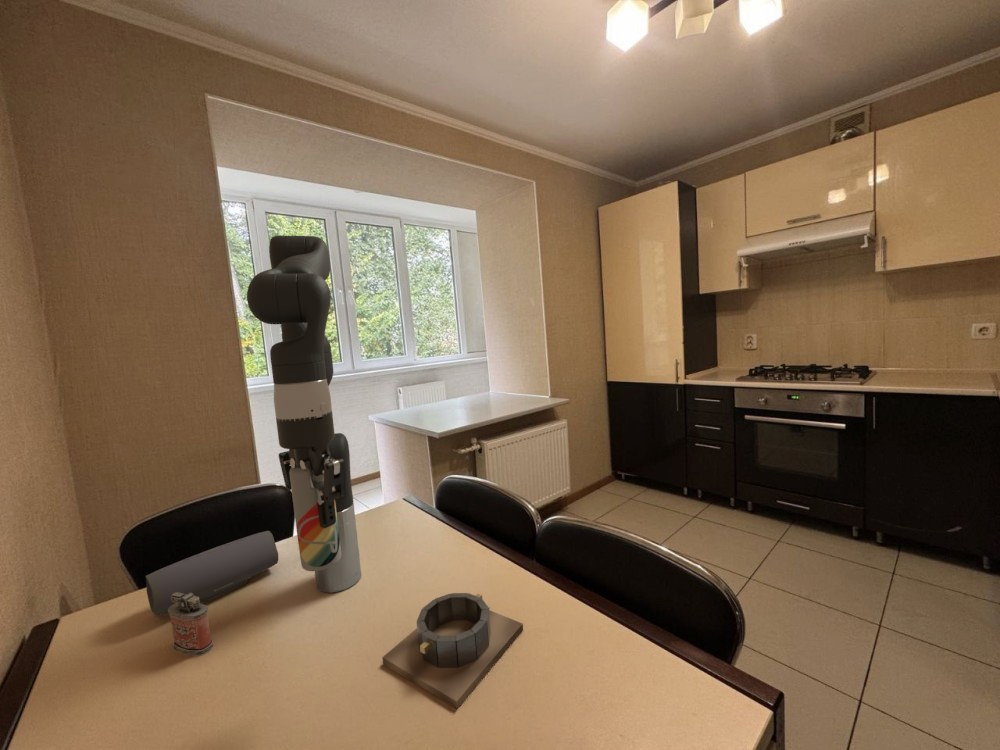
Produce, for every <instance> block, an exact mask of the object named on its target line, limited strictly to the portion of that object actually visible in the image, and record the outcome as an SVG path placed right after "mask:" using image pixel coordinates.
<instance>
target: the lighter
mask: <svg viewBox="0 0 1000 750" xmlns="http://www.w3.org/2000/svg"><path fill="white" fill-rule="evenodd" d="M171 600H172V602H175V604H173V605H172V606H170V607H169V608H168V615H169V616H170V623H171V630H172V634H173V635H172V636H173V643H172V644H173V649H174V650H175V651H177V652H178V653H181V654H184V655H188V656H202V655H205V654H207V653H209V652H210V651H211V650H212V649H213V648H214V643H213V642H214V641H213V640H212V635H211V629H210V623H209V617H208V616H209V615H208V613H209V607H208V606H207V605H206V604H204V603H200V601H199V597H196V596H194V594H193V593H189V594H187V595H186V594H183V593H178V592H176V593H174V594H172V596H171Z"/></svg>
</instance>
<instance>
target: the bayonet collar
mask: <svg viewBox="0 0 1000 750" xmlns="http://www.w3.org/2000/svg"><path fill="white" fill-rule="evenodd" d="M488 606H489V605H487V604H486V602H485V601H484V599H483V595H482V594H481V593H477V594H476V595H474V594H471V593H468V592H452V593H447V594H445V595H441V596H439V597H436V598H434V599H432V600H431V601H430V602H428V603H427V604H426V605H425V606H424V607H422V608H421V610H420V612H419V615H418V618H417V619H416V628H417V633H418V644H419V649H420V652H421V654H422V657H423V659H424V660H425V661H426V662H428V663H430V664H432V665H434V666H436V667H437V668H438V667H439V668H458V667H462V666H464V665H466V664H469V663H471V662H473V661H476V660H477V659H478V658H479V657H480V656H481V655H482V654H483V653H484V652H485V651H486V649H487V648H488V647H489V643H490V636H491V629H490V616H489V610H490V609H489V608H488ZM460 620H467V621H470V622H472V623H474V624H476V625H475V626H474V627H473V628H472V629H471V630H468V631H466V632H463V633H461V634H458V635H455V636H439V635H437V634H435V633H433V631H434V630H436V629H437V628H438V627H439V626H440V625H443V624H446V623H448V622H451V621H460Z"/></svg>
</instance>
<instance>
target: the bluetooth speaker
mask: <svg viewBox="0 0 1000 750" xmlns="http://www.w3.org/2000/svg"><path fill="white" fill-rule="evenodd" d="M278 562H279V551H278V549H277V544H276V542H275V539H274V536H273V533H272V532H271V531H270V530H266V531H261V532H257V533H254V534H251V535H248V536H245V537H243V538H239V539H236V540H233V541H231V542H227V543H225V544H224V543H223V544H222V545H219V546H216V547H213V548H211V549H208V550H205V551H202V552H200V553H197V554H194V555H192V556H190V557H187V558H184V559H182V560H179V561H177V562H174V563H171V564H170V565H167V566H165V567H163V568H160V569H158V570H155V571H154V572H151V573H149V574H146V575H145V583H146V595H147V599H148V603H149V607H150V611H151V612H152V613H153V615H154V616H153V617H154V618H155V617H157V616H161V615H164V614H167V613H168V608H169V607H170V606H172V605H173V604H175V602H172V600H171V596H172V594H174V593H176V592H178V593H183V594H186V595H187V594H189V593H193V594H194V596H196V597H199V601H200V603H201V604H204V603H206V602H208V601H211V600H213V599H215V598H218V597H220V596H222V595H224V594H226V593H230V592H231V591H233V590H236V589H237V588H239V587H241V586H243V585H245V584H246V583H247V582H248V579H250V578H253V577H255V576H256V575H258V574H260V573H262V572H265V571H267V570H269V569H271V568H272V567H274V566H276V565H277V564H278ZM168 614H169V613H168Z"/></svg>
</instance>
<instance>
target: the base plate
mask: <svg viewBox="0 0 1000 750" xmlns="http://www.w3.org/2000/svg"><path fill="white" fill-rule="evenodd" d="M487 606H488V608H489V616H490V629H491V636H490V643H489V647H488V648H487V649H486V651H485V652H484V653H483V654H482V655H481V656H480V657H479V658H478V659H477V660H476V661H473V662H471V663H469V664H466V665H464V666H462V667H458V668H439V667H438V668H437V667H436V666H434V665H432V664H430V663H428V662H426V661H425V660H424V659H423V657H422V654H421V652H420V649H419V644H418V633H417V627H416V628H415V629H414V630H412V632H410V633H409V634H408V635H407V636H405V637H404V638H403V639H402V640H401V641H400V642H398V643H397V644H396V645H395V646H394V647H393V648H392V649H391V650H389V651H388V652H387V653H386V654H384V655H383V656H382V664H383V666H385V667H388V668H389V669H390V670H391V671H393V672H395V673H397V674H399V675H400V676H402V677H403V678H405V679H406V680H409V681H410V682H412V683H414V684H416V685H417V686H419V687H420V688H422V689H424V690H425V691H427V692H429V693H430V694H432V695H433V696H436V698H438V699H440V700H442V701H444V702H445V703H447V704H448V705H450V706H451V707H453V708H455V709H457V710H458V709H459V707H461V705H462V704H463V703H464V702H465V701H466V699H467V698H468V697H469V696H470V695H471V694H472V692H473V691H474V690H475V689H476V687H477V686H478V685H479V684H480V682H481V681H482V680H483V679H484V678H485V676H486V675H487V674H488V673H489V672H490V670H491V669H493V667H494V665H496V663H497V662H498V661H499V660H500V658H501V657H502V656H503V655H504V653H505V652H507V650H508V649H509V648H510V646H511V645H512V644H513V643H514V642H515V640H516V639H517V638H518V637H519V636H520V634H522V632H523V631H524V624H523V623H522V622H519V621H518V620H515V619H512V618H510V617H508V616H505V615H502V614H499V613H498V612H495V611H492V610H490V609H491V606H489V605H487ZM475 625H476V624H474V623H472V622H470V621H467V620H460V621H451V622H448V623H446V624H443V625H440V626H439V627H438V628H437V629H436V630H434V631H433V633H435V634H437V635H439V636H455V635H458V634H461V633H463V632H466V631H468V630H471V629H472V628H473V627H474V626H475Z"/></svg>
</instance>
